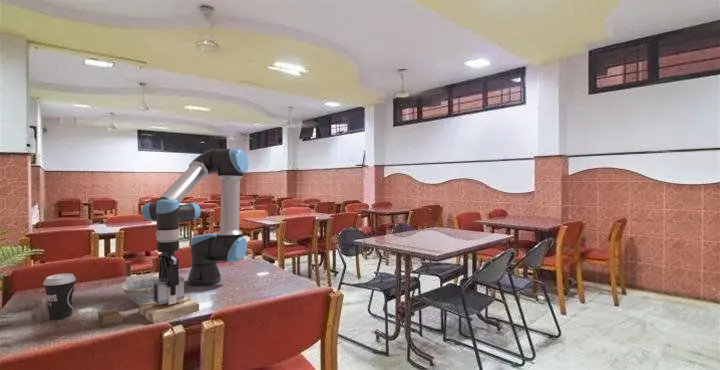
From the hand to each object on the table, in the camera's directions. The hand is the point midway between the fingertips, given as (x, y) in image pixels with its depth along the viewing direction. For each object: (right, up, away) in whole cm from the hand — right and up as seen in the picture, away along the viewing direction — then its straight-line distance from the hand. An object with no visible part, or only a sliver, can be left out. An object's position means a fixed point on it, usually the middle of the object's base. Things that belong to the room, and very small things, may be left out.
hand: (168, 301), depth 144 cm
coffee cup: (-37, -4, -4) cm, 38 cm away
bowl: (-16, -4, +12) cm, 21 cm away
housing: (0, +1, 0) cm, 1 cm away
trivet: (0, -4, 0) cm, 4 cm away
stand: (-16, -4, -9) cm, 19 cm away
